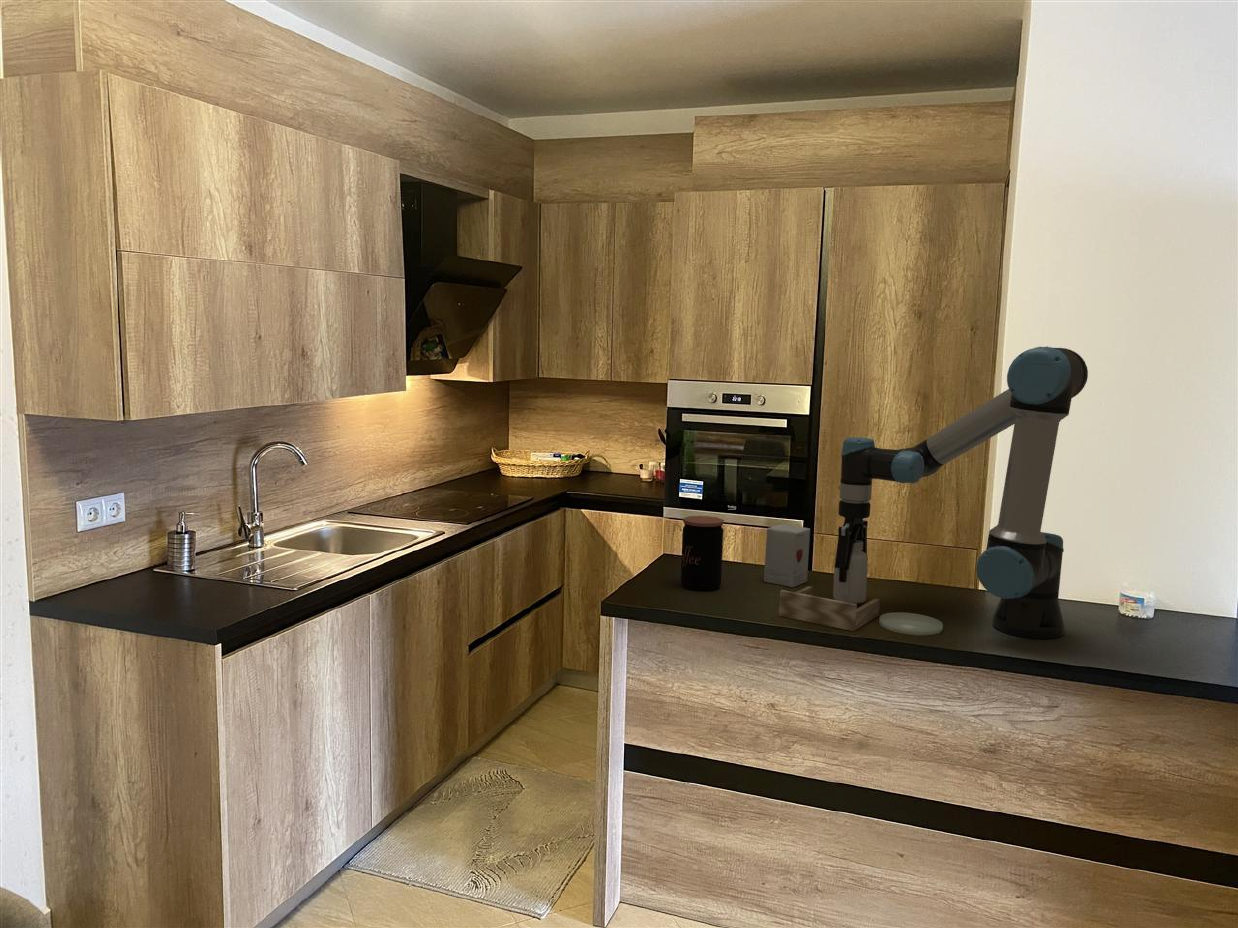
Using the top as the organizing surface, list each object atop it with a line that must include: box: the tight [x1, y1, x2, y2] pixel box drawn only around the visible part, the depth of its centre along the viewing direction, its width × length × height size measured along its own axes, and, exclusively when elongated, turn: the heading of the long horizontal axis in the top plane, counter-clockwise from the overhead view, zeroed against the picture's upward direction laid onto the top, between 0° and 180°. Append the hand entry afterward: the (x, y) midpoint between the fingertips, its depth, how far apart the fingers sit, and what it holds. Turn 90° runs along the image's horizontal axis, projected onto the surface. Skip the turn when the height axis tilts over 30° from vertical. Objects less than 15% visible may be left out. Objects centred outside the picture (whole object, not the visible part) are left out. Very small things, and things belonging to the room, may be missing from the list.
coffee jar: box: [680, 515, 725, 592], centre depth 241 cm, size 11×11×18 cm
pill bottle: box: [832, 540, 869, 604], centre depth 227 cm, size 8×8×15 cm
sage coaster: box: [878, 611, 944, 637], centre depth 212 cm, size 14×14×1 cm
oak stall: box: [778, 585, 881, 632], centre depth 219 cm, size 18×16×6 cm
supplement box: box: [763, 523, 811, 588], centre depth 249 cm, size 9×9×15 cm
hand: (849, 590), depth 228 cm, fingers closed on pill bottle, 8 cm apart
